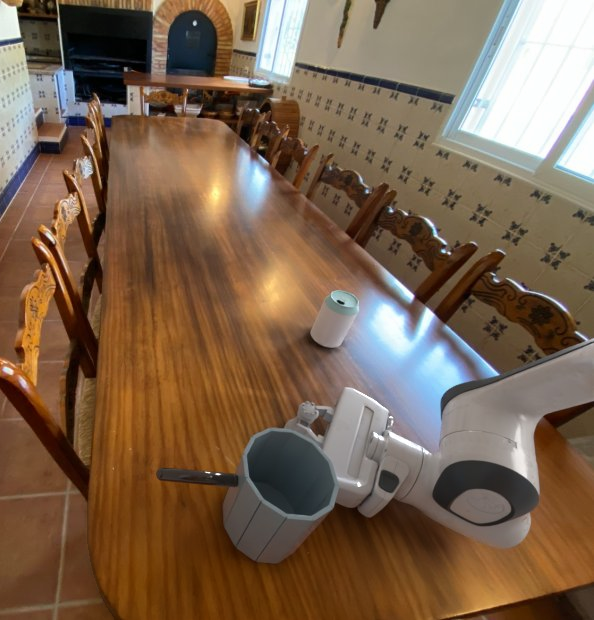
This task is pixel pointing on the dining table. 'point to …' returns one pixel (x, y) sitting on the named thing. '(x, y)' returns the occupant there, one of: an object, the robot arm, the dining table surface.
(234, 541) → the pot
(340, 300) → the can
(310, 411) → the rook chess piece
